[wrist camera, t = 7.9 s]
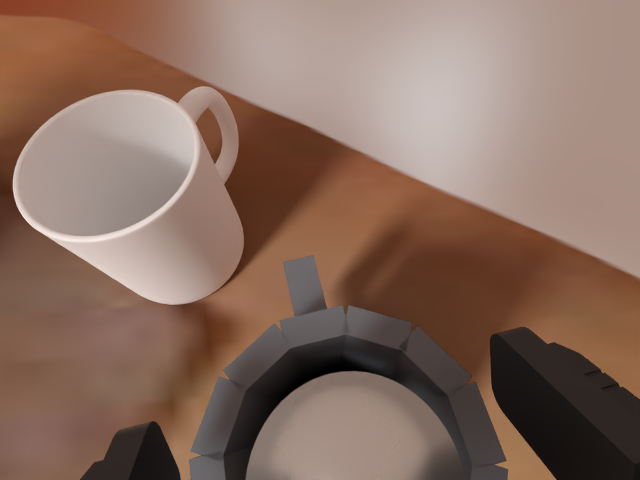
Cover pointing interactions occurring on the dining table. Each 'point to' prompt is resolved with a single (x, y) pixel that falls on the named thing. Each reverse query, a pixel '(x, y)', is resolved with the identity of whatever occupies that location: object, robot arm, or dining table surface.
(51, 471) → the dining table surface
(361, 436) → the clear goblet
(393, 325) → the gray tankard
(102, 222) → the cup
